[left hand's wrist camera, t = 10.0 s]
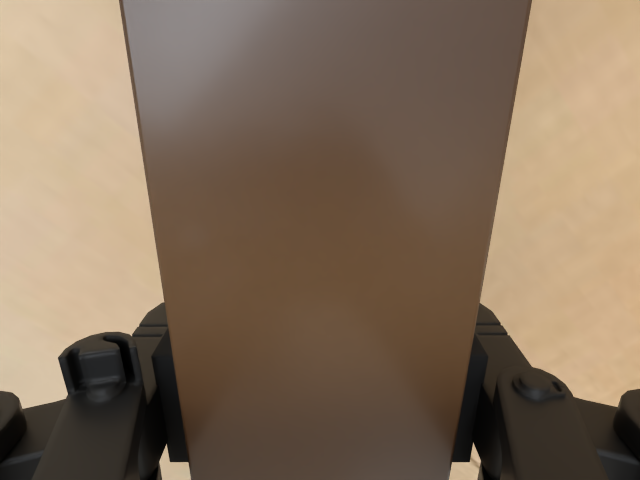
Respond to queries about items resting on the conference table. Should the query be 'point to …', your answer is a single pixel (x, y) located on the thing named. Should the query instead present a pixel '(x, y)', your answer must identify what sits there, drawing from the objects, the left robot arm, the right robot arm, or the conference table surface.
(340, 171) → the beam
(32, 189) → the conference table surface
